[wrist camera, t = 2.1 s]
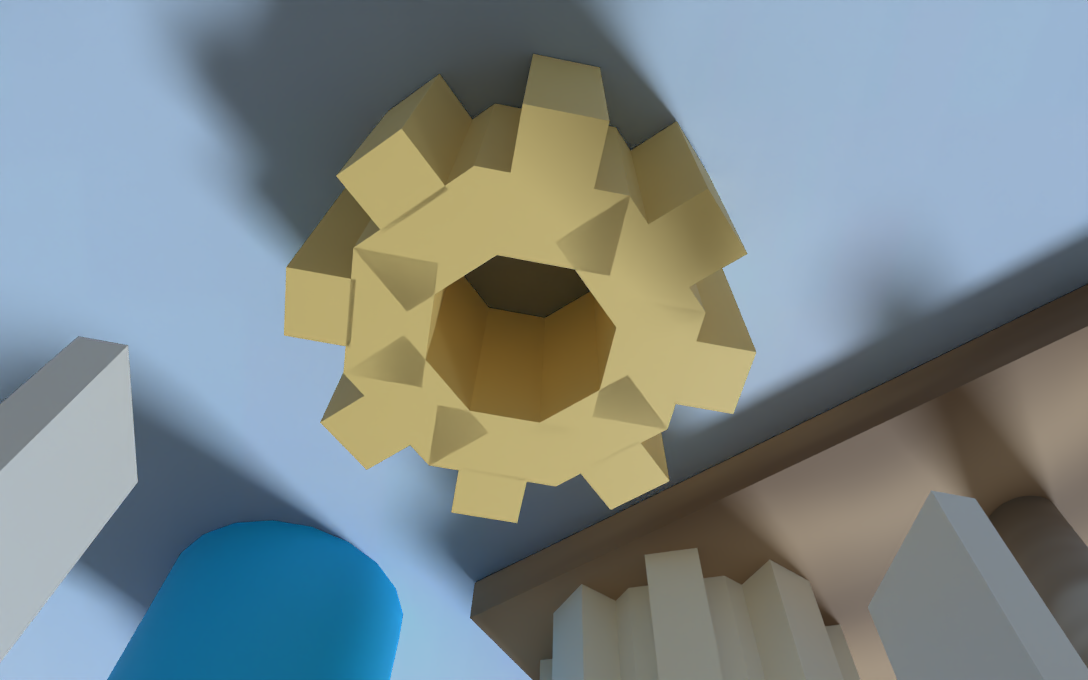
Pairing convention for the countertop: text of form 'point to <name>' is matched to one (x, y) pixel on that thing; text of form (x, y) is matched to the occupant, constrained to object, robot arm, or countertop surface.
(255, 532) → the mug
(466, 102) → the countertop surface
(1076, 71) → the countertop surface
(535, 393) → the ochre gear
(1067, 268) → the countertop surface
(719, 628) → the cream gear
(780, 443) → the walnut board
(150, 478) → the countertop surface
